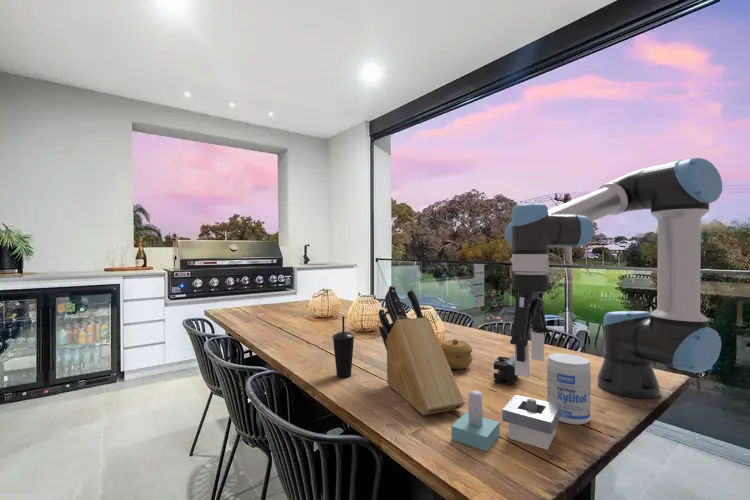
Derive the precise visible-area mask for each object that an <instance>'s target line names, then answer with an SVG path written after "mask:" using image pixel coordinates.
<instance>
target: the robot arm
mask: <svg viewBox="0 0 750 500" xmlns="http://www.w3.org/2000/svg"><path fill="white" fill-rule="evenodd" d="M722 191H723V180H722V177H721V175H720V172H719V170H718V169H717V168H716V167H715V165H714V163H712V162H711V161H709V160H707V159H706V158H703V157H702V158H701V157H694V158H688V159H679V160H676V161H672V162H668V163H663V164H660V165H655V166H650V167H645V168H640V169H638V170H635V171H632V172H630V173H627V174H625V175H623V176H620V177H618V178H616V179H614V180H611V181H609V182H608V183H604V184H602V185H601V186H600V187H599V188H598V189H597V190H596V191H592V192H591V193H588V194H586V195H584V196H581V197H578V198H575V199H572V200H571V201H568V202H566V203H563V204H560V205H558V206H555V207H552V208H551V209H548V205H547V204H543V203H525V204H519V205H515V206H514V207H513V208H512V212H511V222H509V223H507V225H506V226H505V229H504V239H505V241H506V242H507V244H508V245H509V246H511V257H510V259H509V261H510V262H509V263H512V264H511V270H512V272H513V274H512V275H511V287H512V290H513V291H518V292H520V296H516V297H515V310H514V316H513V317H514V318H513V325H512V332H511V339H510V340H509V343H510V345H514V356H515V375H518V377H522V378H523V377H524V378H530V354H531V360H533V361H540V362H544V361H545V334H548V333H549V332H548V331H549V329H548V328H547V322H546V313H545V306H544V297H543V296H544V294H543V293H544V292H545V293H546V292H548V291H549V275H548V274H547V273H548V272H550V271H549V269H550V268H549V266H550V265H549V248H576V247H577V248H578V247H579V248H580V247H585V246H586V245H588V244H589V243H590V242H591V241H592V240H593V238H594V234H595V232H594V231H595V229H594V228H595V227H594V224H593V222H594V221H597V220H599V219H601V218H604V217H607V216H608V215H610V216H616V215H620V214H623V213H626V212H631V211H639V210H640V211H641V210H650V214H651V215H652V217H654V218H656V220H657V277H656V279H657V283H656V284H657V288H656V289H657V290H656V291H657V292H656V293H657V296H656V298H657V299H656V300H657V301H656V302H657V303H656V308H655V309H654V310H653V311H651V312H649V311H645V310H644V311H643V310H642V311H641V310H624V311H623V310H620V311H609V312H606V313H605V314H604V315H603V323H602V329H603V331H602V332H603V361H602V363H601V364H602V365H601V366H600V369H599V372H598V374H597V385H598V386H599V387H600V388H601V389H602V390H604V391H606V392H609V393H612V394H615V395H619V396H623V397H629V398H632V399H633V398H634V399H645V400H646V399H655V398H658V397H660V396H661V390H660V389H661V387H660V383H659V381H658V379H657V377H656V376H657V375H656V374H655V371H654V369H653V364H652V362H653V363H657V364H660V365H664V366H667V367H671V368H675V369H676V370H679V371H685V372H689V373H695V374H699V373H703V372H706V371H708V370H709V369H711V368H712V367H713V366H714V364H716V362H717V360H718V359H719V357H720V353H721V351H722V350H721V349H722V339H721V337H720V334H719V333H718V331H717V330H715V329H713V328H712V327H709V319H708V318H707V317H706V316H705V315H704V314H703V313H702V312H701V267H702V266H701V258H702V257H701V254H702V252H701V251H702V250H701V249H702V248H701V246H702V244H701V243H702V242H701V241H702V239H701V237H702V233H701V232H702V227H701V226H702V218H703V217H704V216H705V215H706V214H707V213H709V211H710V204H712V203H714V202H715V201H718V200H719V199H720V197H721V196H720V195H721V194H722V193H723V192H722ZM531 328H532V331H531ZM530 334H531V335H530ZM530 336H531V338H530ZM529 338H530V339H531V343H530V344H531V345H529V344H528V343H529ZM530 346H531V351H530ZM530 352H531V353H530Z"/></svg>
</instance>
